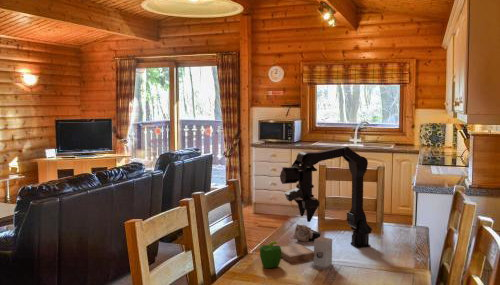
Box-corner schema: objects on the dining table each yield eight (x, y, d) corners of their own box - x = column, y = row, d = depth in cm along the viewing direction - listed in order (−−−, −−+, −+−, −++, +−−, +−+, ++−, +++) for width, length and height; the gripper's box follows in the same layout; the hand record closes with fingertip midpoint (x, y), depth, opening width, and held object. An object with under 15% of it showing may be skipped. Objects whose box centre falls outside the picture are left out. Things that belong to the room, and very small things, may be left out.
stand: (300, 249, 209) (300, 243, 209) (315, 258, 198) (315, 252, 198) (275, 253, 204) (275, 247, 204) (289, 262, 193) (289, 256, 193)
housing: (319, 263, 193) (320, 236, 192) (333, 266, 189) (334, 238, 188) (312, 267, 188) (312, 239, 187) (325, 271, 184) (326, 242, 183)
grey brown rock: (318, 242, 228) (317, 245, 219) (295, 235, 231) (293, 238, 221) (322, 228, 229) (321, 230, 219) (298, 221, 231) (296, 224, 221)
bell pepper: (255, 267, 188) (255, 242, 187) (266, 261, 195) (266, 236, 194) (273, 272, 184) (274, 246, 182) (285, 265, 190) (285, 240, 189)
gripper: (280, 179, 211) (280, 214, 212) (293, 187, 192) (293, 226, 194) (305, 177, 213) (305, 213, 215) (320, 186, 195) (319, 224, 196)
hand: (305, 218), depth 205 cm, fingers open, 9 cm apart
